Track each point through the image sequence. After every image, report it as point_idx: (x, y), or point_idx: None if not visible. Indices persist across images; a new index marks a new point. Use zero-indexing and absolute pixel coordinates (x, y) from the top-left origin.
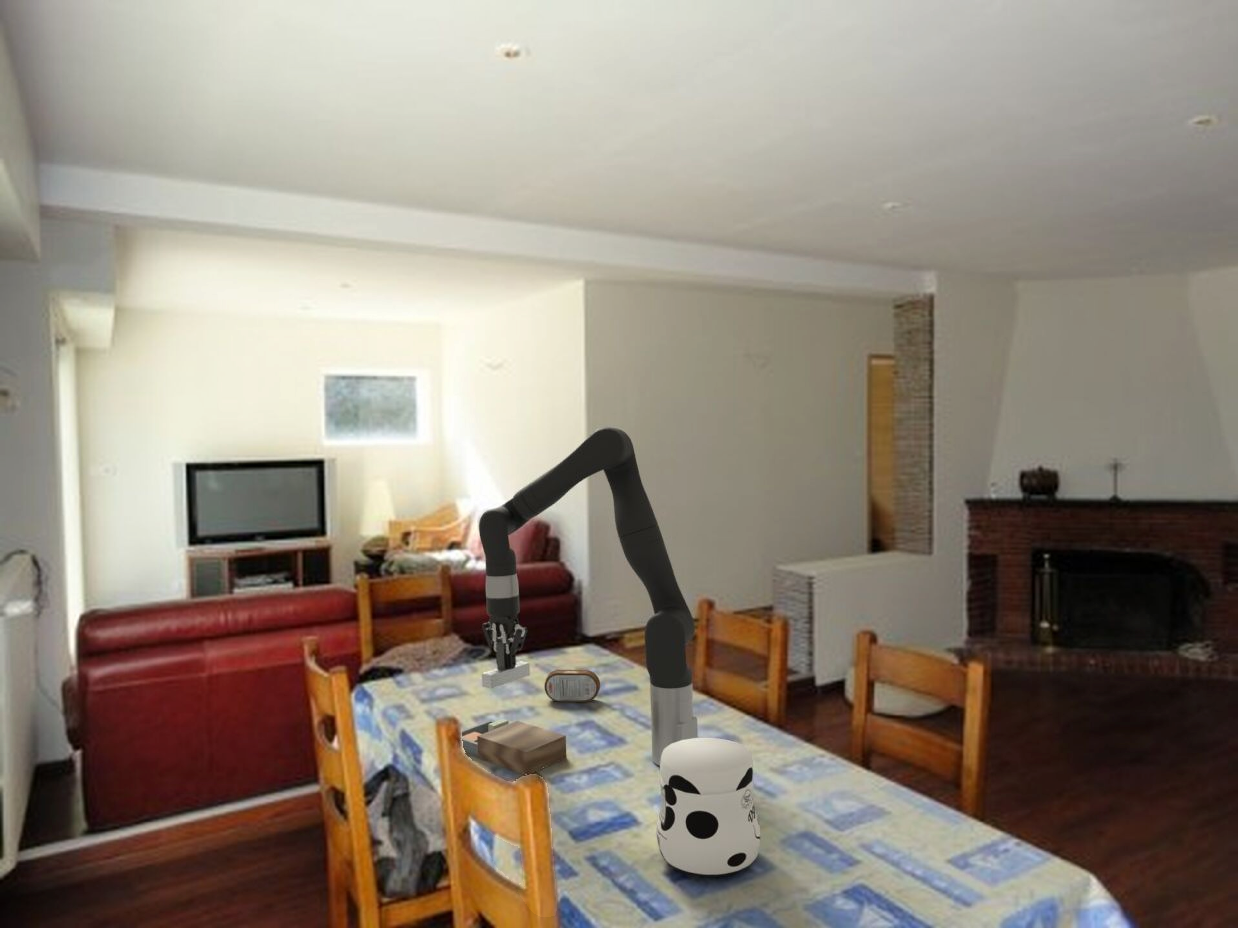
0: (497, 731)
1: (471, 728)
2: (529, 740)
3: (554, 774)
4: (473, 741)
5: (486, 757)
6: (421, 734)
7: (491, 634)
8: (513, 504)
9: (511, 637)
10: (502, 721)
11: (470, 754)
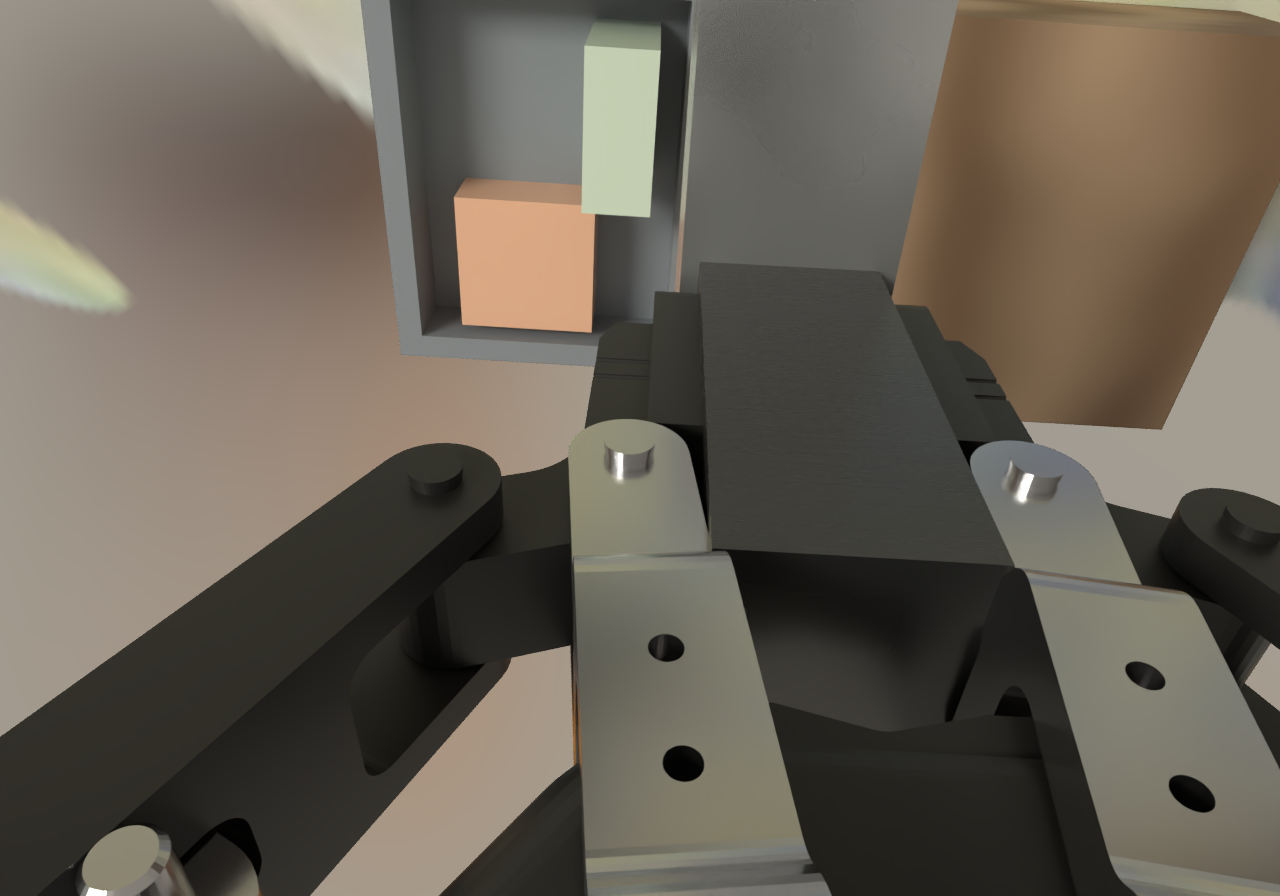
0: None
1: (406, 191)
2: (1082, 278)
3: (1257, 268)
4: None
5: None
6: (72, 265)
7: (326, 788)
8: None
9: (1022, 682)
10: (633, 100)
11: None
